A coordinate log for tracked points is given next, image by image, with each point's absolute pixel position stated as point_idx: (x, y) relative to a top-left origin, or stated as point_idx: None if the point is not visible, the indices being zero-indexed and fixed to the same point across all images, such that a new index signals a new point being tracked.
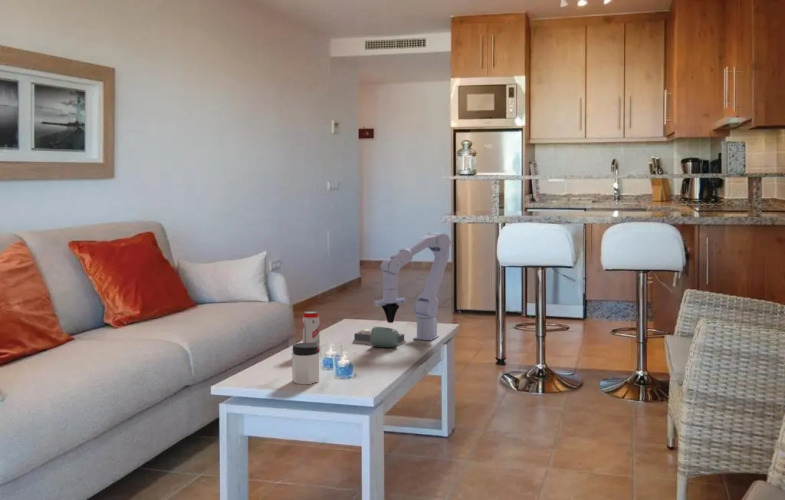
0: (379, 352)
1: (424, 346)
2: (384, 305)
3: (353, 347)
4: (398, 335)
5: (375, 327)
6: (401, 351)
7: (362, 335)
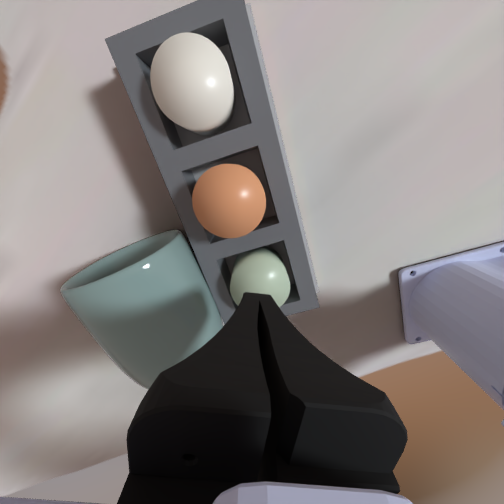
0: None
1: None
2: (131, 481)
3: (49, 179)
4: None
5: (83, 306)
6: None
7: (140, 118)
